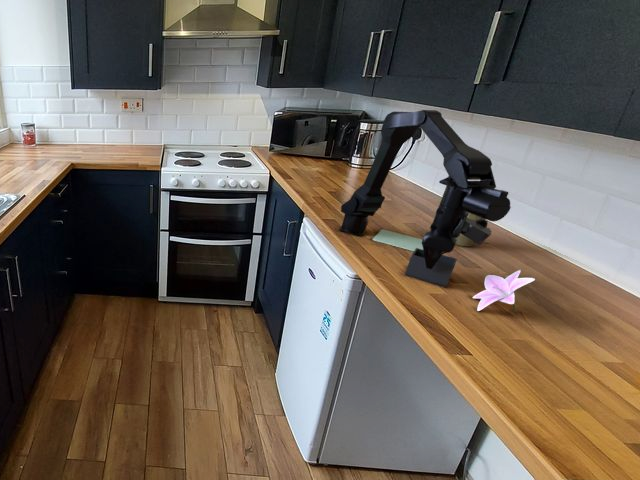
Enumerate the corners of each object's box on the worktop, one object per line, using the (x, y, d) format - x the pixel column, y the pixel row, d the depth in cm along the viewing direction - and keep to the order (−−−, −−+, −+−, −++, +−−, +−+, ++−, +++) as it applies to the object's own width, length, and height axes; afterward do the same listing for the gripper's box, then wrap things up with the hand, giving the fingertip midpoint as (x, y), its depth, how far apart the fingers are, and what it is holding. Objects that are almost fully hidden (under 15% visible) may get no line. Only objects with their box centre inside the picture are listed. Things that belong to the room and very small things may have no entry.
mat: (372, 240, 128) (372, 238, 128) (381, 230, 136) (382, 229, 136) (432, 256, 118) (432, 255, 118) (438, 244, 126) (438, 243, 126)
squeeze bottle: (465, 239, 131) (487, 186, 124) (482, 249, 124) (507, 194, 117) (439, 237, 132) (459, 184, 125) (455, 247, 125) (477, 192, 117)
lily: (482, 294, 101) (473, 262, 98) (548, 298, 91) (540, 263, 88) (467, 324, 95) (458, 291, 92) (537, 332, 85) (528, 295, 83)
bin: (404, 275, 107) (411, 255, 104) (409, 267, 111) (416, 247, 108) (445, 287, 101) (454, 266, 99) (448, 279, 105) (457, 258, 103)
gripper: (494, 225, 87) (466, 287, 93) (498, 206, 99) (473, 262, 106) (432, 211, 94) (410, 270, 100) (443, 195, 106) (424, 248, 113)
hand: (431, 262), depth 104 cm, fingers open, 9 cm apart
